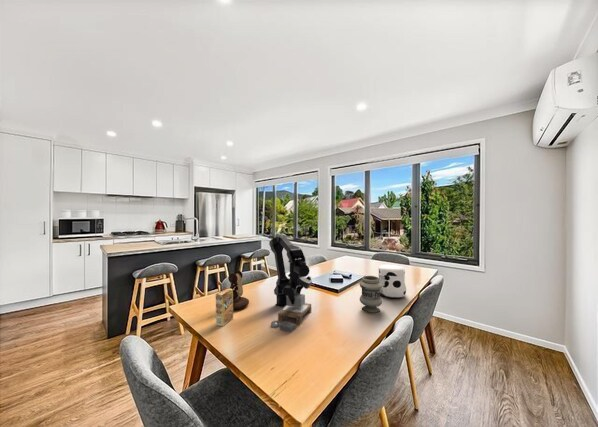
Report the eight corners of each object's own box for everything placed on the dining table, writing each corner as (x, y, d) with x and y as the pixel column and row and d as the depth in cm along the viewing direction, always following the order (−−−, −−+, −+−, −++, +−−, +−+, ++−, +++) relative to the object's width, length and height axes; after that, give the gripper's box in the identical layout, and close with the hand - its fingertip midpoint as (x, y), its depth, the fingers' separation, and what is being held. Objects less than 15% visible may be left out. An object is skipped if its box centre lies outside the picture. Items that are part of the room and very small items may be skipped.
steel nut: (269, 326, 111) (269, 323, 111) (273, 323, 115) (273, 320, 115) (276, 328, 109) (276, 325, 109) (280, 324, 113) (280, 321, 113)
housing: (301, 307, 118) (301, 296, 118) (286, 305, 121) (286, 294, 121) (304, 303, 124) (304, 292, 124) (290, 301, 126) (290, 291, 126)
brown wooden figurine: (242, 312, 127) (242, 275, 127) (217, 310, 129) (217, 274, 129) (252, 302, 141) (252, 269, 141) (230, 300, 144) (229, 268, 144)
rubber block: (279, 329, 108) (279, 324, 108) (284, 326, 112) (284, 321, 112) (290, 333, 105) (290, 327, 105) (295, 329, 109) (295, 324, 109)
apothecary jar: (355, 310, 128) (355, 277, 128) (365, 304, 137) (365, 273, 136) (376, 317, 120) (376, 282, 119) (386, 309, 128) (386, 277, 128)
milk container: (408, 293, 153) (407, 266, 153) (403, 302, 138) (403, 272, 138) (380, 289, 162) (380, 263, 162) (374, 297, 148) (374, 268, 147)
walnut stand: (278, 320, 117) (278, 311, 117) (291, 308, 132) (291, 300, 132) (300, 324, 113) (300, 315, 113) (311, 311, 127) (311, 303, 127)
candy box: (223, 326, 111) (222, 294, 111) (215, 325, 112) (215, 293, 112) (233, 318, 120) (233, 288, 119) (226, 317, 121) (226, 288, 121)
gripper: (302, 278, 110) (303, 311, 111) (315, 269, 128) (315, 297, 128) (281, 276, 115) (282, 308, 115) (296, 267, 132) (296, 295, 132)
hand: (295, 301), depth 122 cm, fingers closed on housing, 6 cm apart
